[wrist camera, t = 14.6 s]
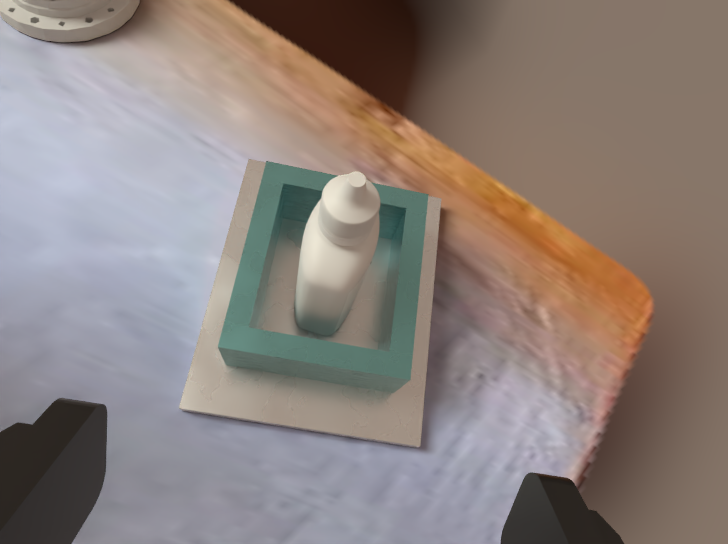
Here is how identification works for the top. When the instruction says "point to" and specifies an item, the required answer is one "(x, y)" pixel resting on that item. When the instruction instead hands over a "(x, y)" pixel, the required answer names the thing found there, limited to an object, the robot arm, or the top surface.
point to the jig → (308, 349)
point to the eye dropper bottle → (336, 252)
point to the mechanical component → (67, 17)
